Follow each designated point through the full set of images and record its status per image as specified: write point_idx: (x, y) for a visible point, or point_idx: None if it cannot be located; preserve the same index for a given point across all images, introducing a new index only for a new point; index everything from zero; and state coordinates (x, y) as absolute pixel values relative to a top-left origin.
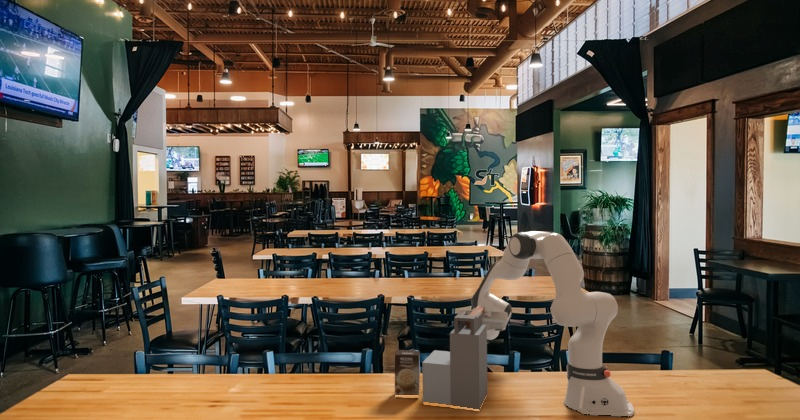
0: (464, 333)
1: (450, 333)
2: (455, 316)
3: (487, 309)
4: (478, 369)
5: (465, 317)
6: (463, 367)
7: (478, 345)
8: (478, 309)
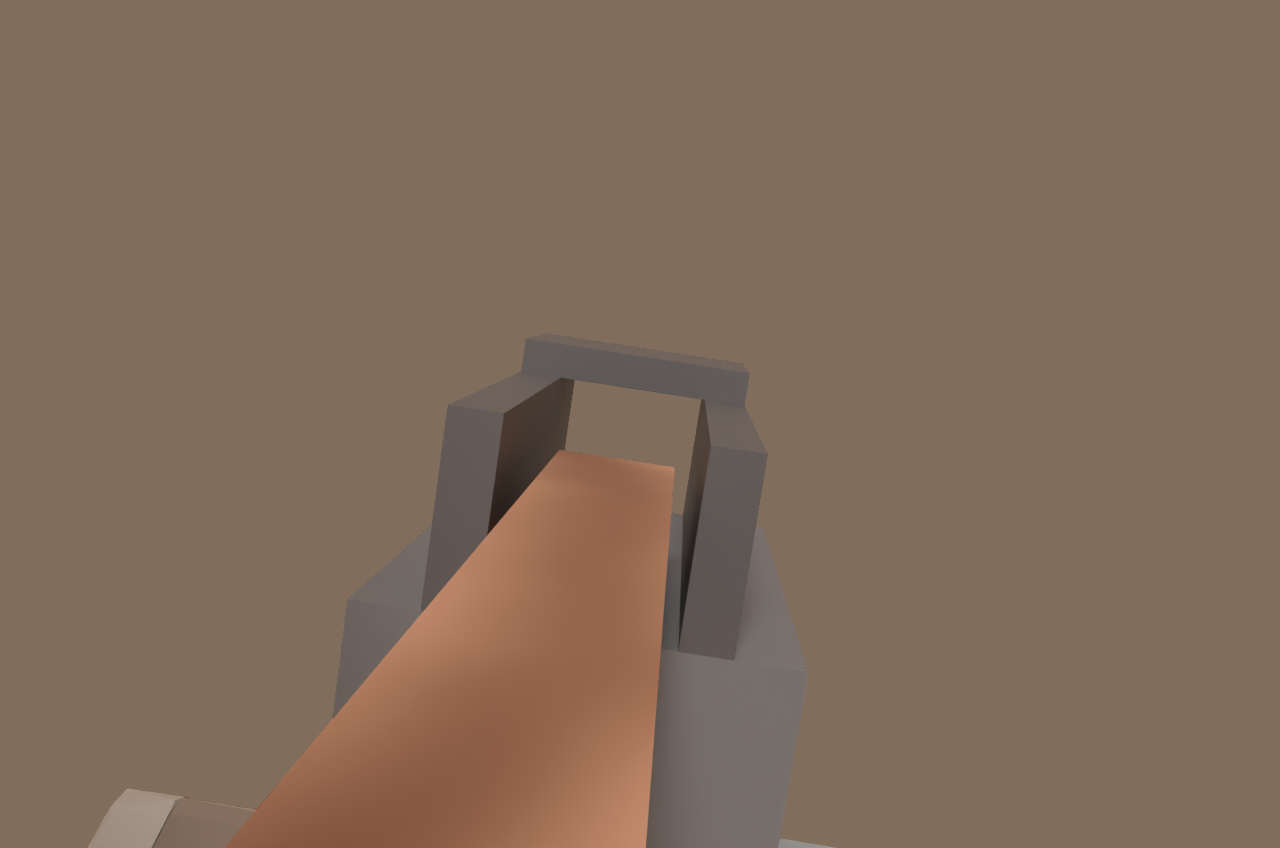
0: None
1: (756, 528)
2: (743, 366)
3: (125, 798)
4: None
5: (634, 349)
6: None
7: None
8: (528, 656)
